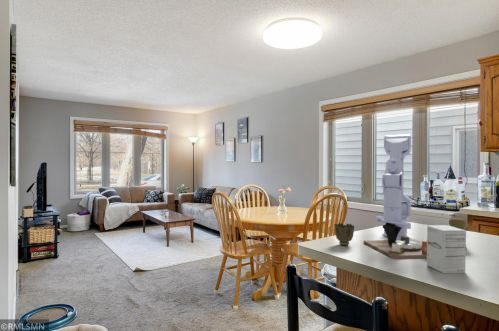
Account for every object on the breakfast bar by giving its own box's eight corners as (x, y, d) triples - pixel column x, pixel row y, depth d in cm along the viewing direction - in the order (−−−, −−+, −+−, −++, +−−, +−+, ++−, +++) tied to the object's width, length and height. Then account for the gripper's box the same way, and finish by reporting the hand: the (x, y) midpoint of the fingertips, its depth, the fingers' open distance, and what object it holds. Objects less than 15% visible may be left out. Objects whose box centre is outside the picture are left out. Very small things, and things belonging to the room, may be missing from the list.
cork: (469, 249, 113) (470, 219, 113) (451, 248, 115) (451, 219, 115) (461, 245, 119) (462, 217, 119) (444, 244, 121) (445, 216, 121)
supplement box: (425, 265, 96) (426, 225, 96) (448, 264, 96) (448, 224, 96) (442, 273, 88) (443, 230, 88) (466, 273, 89) (467, 229, 89)
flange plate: (393, 240, 121) (393, 233, 121) (425, 245, 114) (425, 238, 114) (379, 249, 109) (379, 241, 109) (413, 255, 101) (413, 247, 101)
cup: (355, 243, 121) (355, 223, 121) (353, 248, 114) (353, 227, 114) (335, 241, 124) (336, 222, 124) (332, 246, 117) (332, 225, 117)
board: (363, 243, 122) (363, 230, 122) (414, 241, 125) (414, 229, 125) (393, 258, 102) (393, 243, 102) (453, 256, 105) (453, 242, 105)
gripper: (369, 204, 115) (368, 240, 115) (399, 210, 101) (398, 251, 101) (384, 203, 117) (384, 239, 117) (415, 209, 103) (415, 249, 103)
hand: (392, 245), depth 109 cm, fingers closed, pressing on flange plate
